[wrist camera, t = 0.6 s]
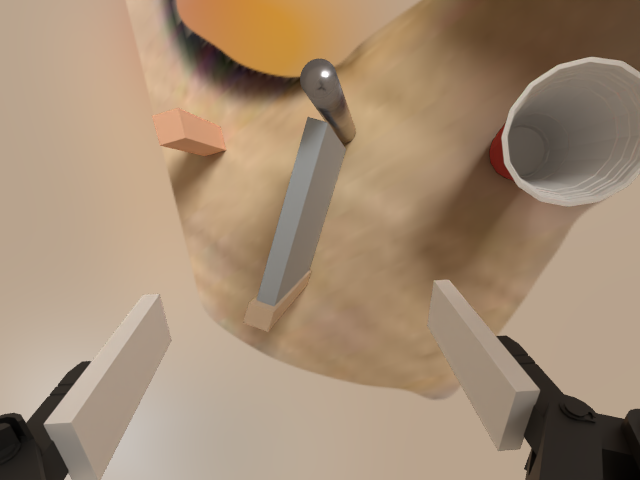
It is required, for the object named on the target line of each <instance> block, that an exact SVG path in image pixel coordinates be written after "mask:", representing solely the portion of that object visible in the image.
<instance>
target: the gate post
mask: <svg viewBox="0 0 640 480" xmlns="http://www.w3.org/2000/svg"><path fill="white" fill-rule="evenodd" d="M300 82H301V86H302V88H303V90H304V92H305V93H306V94H307V96H308V97H309V99H310V100H311V101H312V103H313V104H314V106H315V107H316V109H317V110H318V111H319V113H320V114H321V116H322V117H323V119H324V120H325V121H326V122H328V124H329V125H330V126H331V128H332V129H333V131H334V132H335V134H336V135H337V137H338V138H339V140H340V141H341V142H350V141H351V140H352V139H353V138H354V137H355V134H356V129H355V126H354V123H353V120H352V117H351V114H350V111H349V109H348V106H347V103H346V100H345V97H344V94H343V91H342V88H341V85H340V82H339V80H338V77H337V74H336V71H335V68H334V67H333V65H332V64H331V63H330V62H329V61H327V60H324V59H314V60H312V61H310V62H308V63H307V64H306V65H305V67H304V68H303V70H302V72H301V76H300Z"/></svg>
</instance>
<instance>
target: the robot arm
mask: <svg viewBox="0 0 640 480" xmlns="http://www.w3.org/2000/svg"><path fill="white" fill-rule="evenodd" d="M427 326H428V328H429V330H430V331H431V333H432V335H433V337H434V339H435V340H436V342H437V344H438V346H439V347H440V349H441V351H442V353H443V354H444V356H445V358H446V360H447V361H448V363H449V365H450V367H451V369H452V370H453V372H454V374H455V376H456V377H457V379H458V381H459V383H460V384H461V386H462V388H463V390H464V391H465V393H466V395H467V397H468V399H469V400H470V402H471V404H472V406H473V407H474V409H475V410H476V413H477V414H478V416H479V418H480V420H481V421H482V423H483V425H484V427H485V429H486V430H487V432H488V434H489V436H490V437H491V439H492V441H493V443H494V444H495V446H496V448H497V450H498V451H503V450H516V449H520V448H521V445H522V442H523V439H524V437H525V439H526V440H527V442H528V443H529V445H530V446H531V448H532V449H531V452H530V454H529V457H528V460H527V463H526V465H525V468H524V469H525V470H527V474H526V480H640V409H633V410H630V411H629V412H628V414H627V416H626V417H625V419H622V418H617V417H612V416H607V415H602V414H598V413H595V411H594V410H593V409H592V408H591V407H589V406H588V405H587V404H586V403H584V402H582V401H581V400H579V399H577V398H575V397H571V396H568V395H564V394H563V393H562V392H561V391H560V390H559V388H558V387H557V386H556V385H555V384H554V383H553V382H552V380H550V378H549V377H548V376H547V375H546V374H545V373H544V372H543V370H542V369H541V368H540V367H539V366H538V365H537V364H535V361H534V360H533V359H532V358H531V357H530V356H528V354H527V353H526V351H525V350H524V349H523V348H522V347H521V346H520V345H519V344H518V343H517V342H515V341H514V340H512V339H511V338H509V337H508V336H495V335H494V333H493V332H492V331H491V330H490V329H489V327H488V326H487V325H486V324H485V323H484V321H483V320H482V319H481V318H480V316H479V315H478V314H477V313H476V312H475V310H474V309H473V308H472V307H471V306H470V304H469V303H468V302H467V301H466V300H465V298H464V297H463V296H462V295H461V293H460V292H459V291H458V290H457V289H456V287H455V286H454V285H453V284H452V283H451V281H450V280H434V282H433V289H432V296H431V303H430V310H429V317H428V324H427ZM170 342H171V337H170V333H169V329H168V325H167V321H166V317H165V313H164V309H163V305H162V301H161V297H160V294H150V295H143V296H142V297H141V298H140V299H139V301H138V302H137V304H136V305H135V306H134V307H133V308H132V310H131V311H130V312H129V314H128V315H127V316H126V318H125V319H124V320H123V321H122V323H121V324H120V325H119V327H118V328H117V329H116V331H115V332H114V333H113V334H112V336H111V337H110V338H109V340H108V341H107V342H106V343H105V345H104V346H103V347H102V349H101V350H100V351H99V353H98V354H97V355H96V357H95V358H94V359H93V360H92V361H86V362H81V363H80V364H78V365H77V366H76V367H74V368H73V369H72V370H71V371H69V372H68V373H67V374H66V375H65V377H64V378H63V379H62V380H61V381H60V383H59V384H58V387H55V389H54V390H53V391H52V392H51V394H50V396H49V397H47V398H46V400H45V401H44V402H43V403H42V404H41V406H40V407H39V408H38V409H37V411H36V412H35V413H34V414H33V415H32V417H31V418H30V419H29V420H28V421H27V423H26V422H25V421H24V419H23V418H22V416H21V415H20V414H16V413H10V414H4V415H1V416H0V480H64V479H65V477H66V475H67V474H68V473H69V475H70V477H71V479H72V480H100V479H101V477H102V476H103V474H104V472H105V469H106V468H107V466H108V464H109V462H110V460H111V458H112V456H113V454H114V452H115V450H116V448H117V446H118V444H119V442H120V440H121V438H122V436H123V434H124V432H125V431H126V429H127V427H128V425H129V422H130V420H131V419H132V417H133V415H134V413H135V411H136V409H137V407H138V405H139V403H140V401H141V399H142V397H143V395H144V393H145V391H146V389H147V387H148V385H149V384H150V382H151V379H152V378H153V376H154V374H155V372H156V370H157V368H158V366H159V364H160V362H161V360H162V358H163V356H164V354H165V352H166V350H167V348H168V346H169V344H170Z"/></svg>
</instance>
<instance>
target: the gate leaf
mask: <svg viewBox="0 0 640 480" xmlns="http://www.w3.org/2000/svg"><path fill="white" fill-rule="evenodd" d="M345 152H346V148H345V147H344V145H343V144H342V143H341V141H340V140H339V138H338V137H337V135H336V134H335V132H334V131H333V129H332V128H331V126H330V125H329V124H328V122H324V121H321V120H317V119H313V118H310V117H308V118H307V122H306V125H305V129H304V132H303V136H302V139H301V143H300V147H299V150H298V154H297V157H296V161H295V164H294V168H293V172H292V175H291V179H290V182H289V186H288V189H287V193H286V197H285V200H284V204H283V207H282V211H281V214H280V218H279V222H278V225H277V229H276V232H275V236H274V239H273V243H272V247H271V250H270V254H269V257H268V261H267V264H266V268H265V272H264V275H263V279H262V282H261V286H260V289H259V293H258V296H256V297H255V298H254V299H253V300H251V301H250V302H249V303H248V307H247V310H246V314H245V318H244V321H243V323H245V324H248V325H250V326H253V327H255V328H258V329H261V330H263V331H266V332H268V331H269V330H270V329H271V328H272V327H273V325H274V324H275V323H276V322H277V321H278V319H279V318H280V317H281V316H282V315H283V313H284V312H285V311H286V310H287V308H288V307H289V306H290V305H291V304H292V302H293V301H294V300H295V299H296V298H297V296H298V295H299V294H300V293H301V292H302V290H303V289H304V288H305V287H306V286H307V284H308V281H309V278H310V274H311V271H310V266H311V263H312V260H313V256H314V253H315V250H316V247H317V243H318V240H319V237H320V233H321V230H322V227H323V224H324V220H325V217H326V214H327V211H328V207H329V204H330V201H331V197H332V194H333V191H334V188H335V184H336V181H337V178H338V174H339V171H340V168H341V165H342V161H343V158H344V155H345Z"/></svg>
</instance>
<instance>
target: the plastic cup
mask: <svg viewBox="0 0 640 480" xmlns="http://www.w3.org/2000/svg"><path fill="white" fill-rule="evenodd" d="M489 154H490V161H491V164H492V166H493V167H494V169H495V170H496V172H497V173H499V174H500V175H502V176H503V177H505V178H507V179H511V180H512V181H514V182H516V184H517V186H518V187H519V188H521V189H522V190H524V191H525V192H527V193H528V194H530V195H531V196H533V197H534V198H536V199H537V200H539V201H541V202H546V203H551V204H556V205H562V206H567V207H571V206H577V205H583V204H589V203H595V202H600V201H602V200H604V199H605V198H607V197H609V196H611V195H613V194H615V193H617V192H619V191H621V190H622V189H624V188H626V187H628V186H629V185H630V184H631V183H632V182H633V181H634V180H635V179H636V178H637V176H638V175H639V174H640V72H639V71H637V70H636V69H634V68H633V67H631V66H630V65H628V64H627V63H625V62H624V61H620V60H612V59H605V58H598V57H587V58H583V59H579V60H575V61H571V62H567V63H563V64H559V65H557V66H555V67H554V68H552V69H551V70H549V71H548V72H546V73H544V74H543V75H541V76H540V77H538V78H537V79H535V80H534V81H532V82H531V83H530V84H529V85H528V86H527V87H526V89H525V90H524V91H523V93H522V94H521V95H520V97H519V98H518V99H517V100H516V102H515V103H514V104H513V106H512V107H511V108H510V110H509V114H508V117H507V120H506V123H505V124H504V126H503V127H502V128H501V129H500V131H499V132H498V133H497V135H496V137H495V138H494V140H493V141H492V144H491V148H490V151H489Z"/></svg>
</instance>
